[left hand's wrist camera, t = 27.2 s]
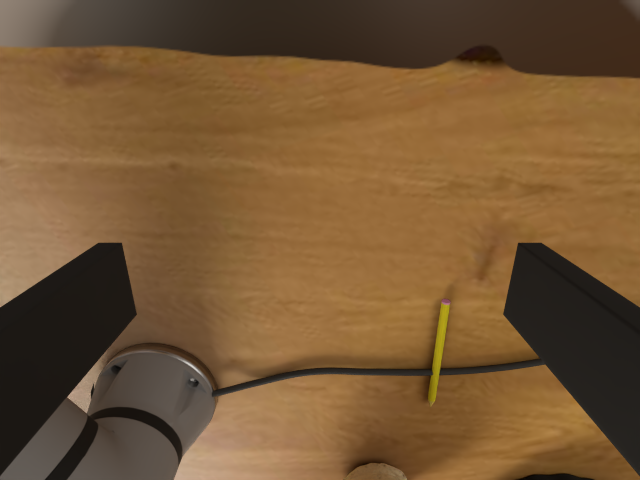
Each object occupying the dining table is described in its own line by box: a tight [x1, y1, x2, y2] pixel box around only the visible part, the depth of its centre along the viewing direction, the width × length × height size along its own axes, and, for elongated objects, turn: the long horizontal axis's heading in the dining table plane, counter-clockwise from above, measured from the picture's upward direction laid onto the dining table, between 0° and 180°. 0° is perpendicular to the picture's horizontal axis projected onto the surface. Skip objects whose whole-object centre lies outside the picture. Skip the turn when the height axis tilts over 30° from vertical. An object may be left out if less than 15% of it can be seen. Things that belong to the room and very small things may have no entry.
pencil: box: [428, 299, 450, 407], centre depth 47 cm, size 16×1×1 cm, turn 0°
